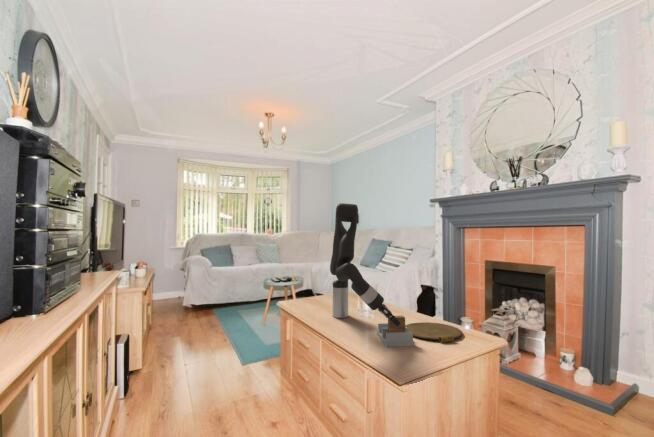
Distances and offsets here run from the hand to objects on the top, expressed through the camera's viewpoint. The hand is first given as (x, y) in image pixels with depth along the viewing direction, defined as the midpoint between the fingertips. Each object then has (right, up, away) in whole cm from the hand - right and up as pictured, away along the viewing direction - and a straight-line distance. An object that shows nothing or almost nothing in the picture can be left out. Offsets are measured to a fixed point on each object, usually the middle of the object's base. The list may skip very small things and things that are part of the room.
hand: (395, 321), depth 143 cm
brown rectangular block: (0, -8, 0) cm, 8 cm away
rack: (0, -9, +3) cm, 10 cm away
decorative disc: (+21, -10, +13) cm, 27 cm away
